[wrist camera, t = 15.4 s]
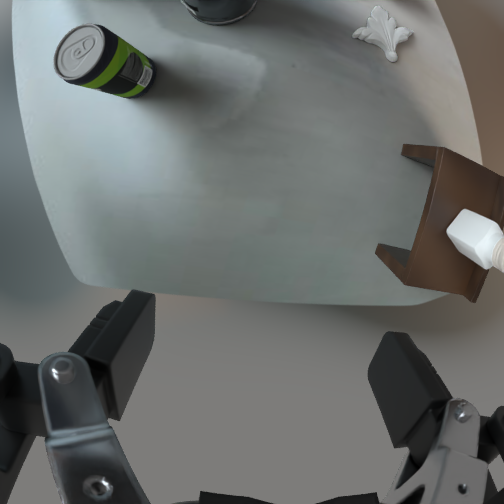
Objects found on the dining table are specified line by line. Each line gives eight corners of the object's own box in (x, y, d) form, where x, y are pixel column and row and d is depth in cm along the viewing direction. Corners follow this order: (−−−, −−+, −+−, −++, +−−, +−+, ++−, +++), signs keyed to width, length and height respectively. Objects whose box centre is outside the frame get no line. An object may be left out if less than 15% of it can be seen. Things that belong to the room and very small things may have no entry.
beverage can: (145, 48, 31) (92, 9, 17) (166, 81, 33) (116, 51, 19) (108, 75, 32) (44, 52, 18) (127, 108, 34) (64, 96, 20)
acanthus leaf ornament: (350, 37, 30) (354, 33, 29) (366, 5, 28) (371, 0, 26) (397, 66, 31) (403, 63, 29) (412, 33, 29) (417, 29, 27)
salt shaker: (462, 205, 28) (517, 229, 19) (477, 228, 28) (528, 256, 19) (442, 230, 29) (494, 262, 20) (457, 252, 29) (506, 287, 21)
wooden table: (403, 143, 35) (454, 148, 24) (460, 167, 36) (514, 181, 24) (374, 253, 41) (411, 293, 29) (432, 266, 41) (475, 303, 30)
